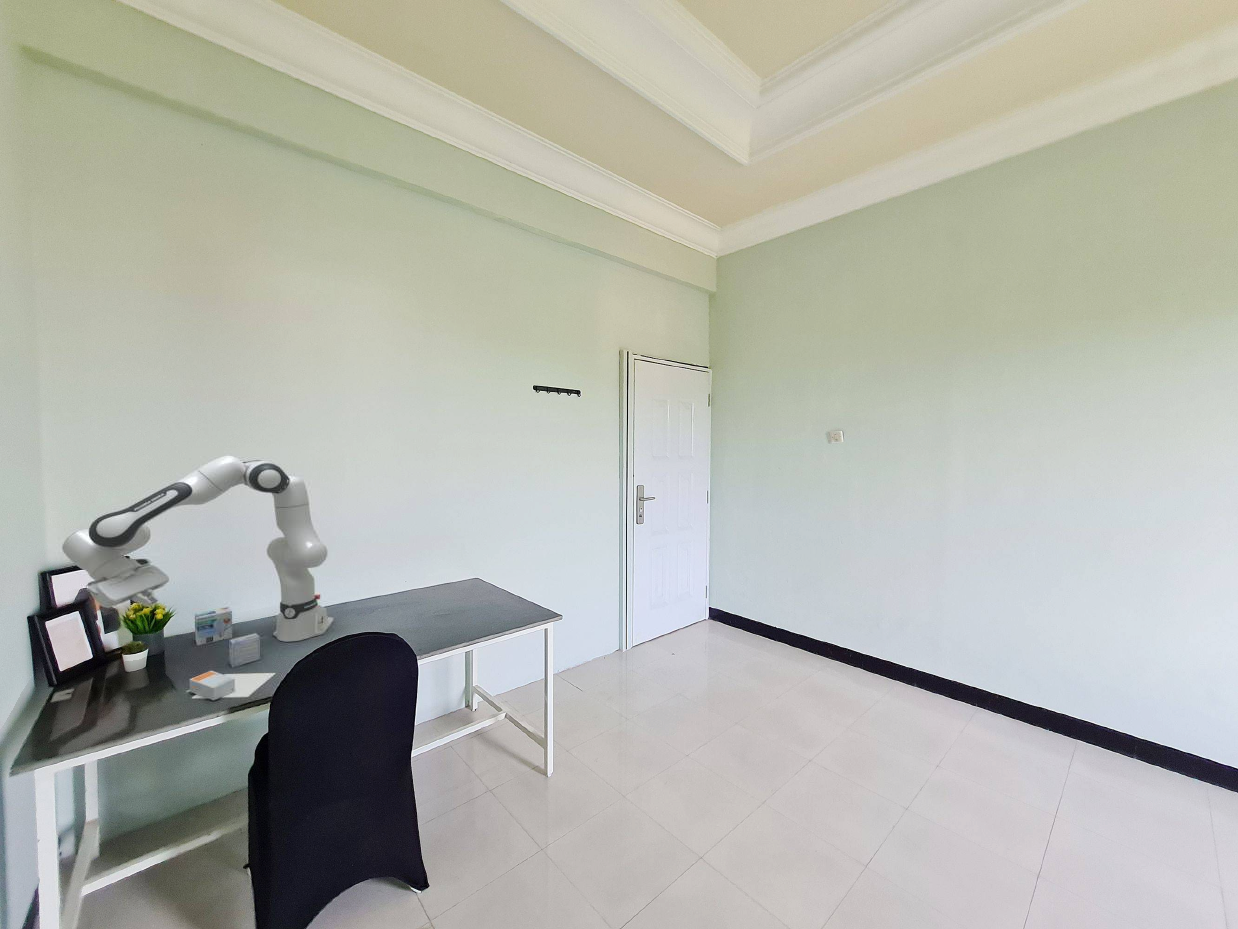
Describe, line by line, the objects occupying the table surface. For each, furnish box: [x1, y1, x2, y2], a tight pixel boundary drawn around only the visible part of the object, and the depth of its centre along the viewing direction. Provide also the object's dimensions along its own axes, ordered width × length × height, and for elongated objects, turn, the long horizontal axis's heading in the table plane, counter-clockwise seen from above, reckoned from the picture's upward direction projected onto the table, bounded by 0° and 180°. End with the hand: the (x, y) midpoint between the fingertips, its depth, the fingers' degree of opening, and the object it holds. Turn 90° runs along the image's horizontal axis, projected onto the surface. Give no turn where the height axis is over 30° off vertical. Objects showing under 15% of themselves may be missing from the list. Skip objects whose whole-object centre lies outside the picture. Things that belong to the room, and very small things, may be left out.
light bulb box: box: [194, 606, 233, 646], centre depth 182 cm, size 11×7×11 cm, turn 137°
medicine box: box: [228, 632, 261, 668], centre depth 166 cm, size 8×4×9 cm, turn 141°
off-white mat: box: [191, 672, 277, 700], centre depth 151 cm, size 14×16×1 cm
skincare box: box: [189, 670, 235, 701], centre depth 147 cm, size 6×4×12 cm
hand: (152, 603), depth 148 cm, fingers closed
